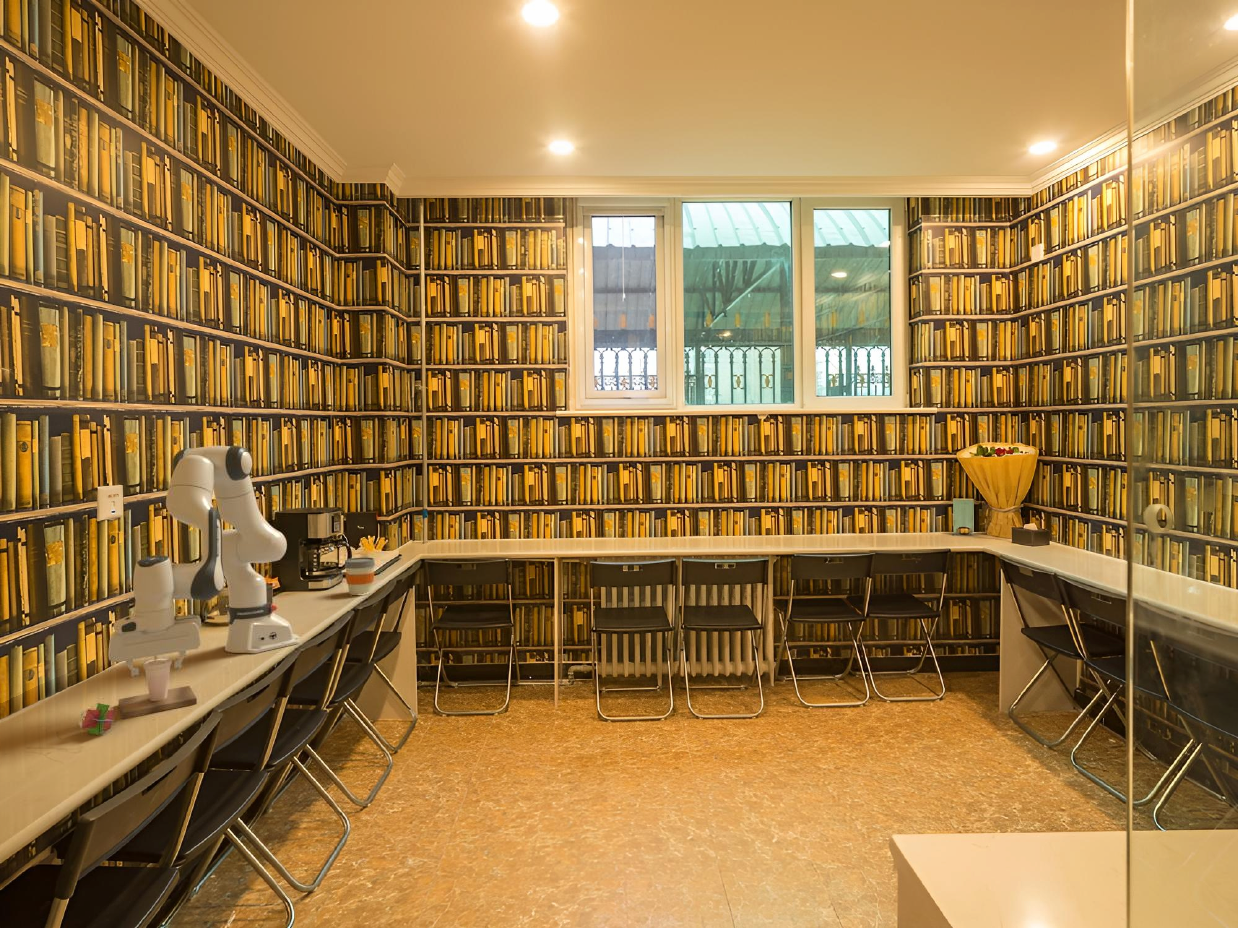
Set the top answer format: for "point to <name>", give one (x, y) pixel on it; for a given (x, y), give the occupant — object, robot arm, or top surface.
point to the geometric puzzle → (97, 719)
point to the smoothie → (157, 677)
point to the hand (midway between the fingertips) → (156, 671)
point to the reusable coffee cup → (359, 574)
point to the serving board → (156, 702)
